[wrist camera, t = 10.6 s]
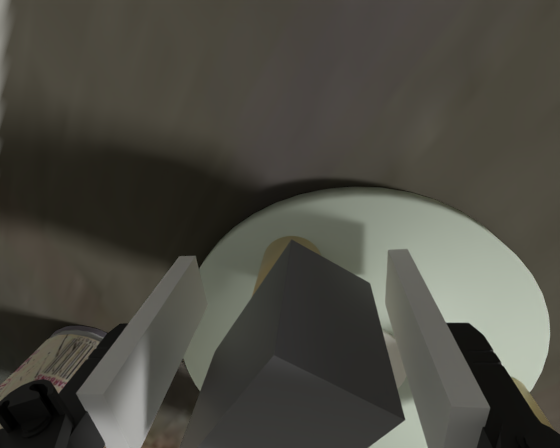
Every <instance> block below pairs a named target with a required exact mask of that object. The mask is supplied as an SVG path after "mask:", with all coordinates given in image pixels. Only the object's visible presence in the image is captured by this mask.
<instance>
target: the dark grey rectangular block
mask: <svg viewBox="0 0 560 448" xmlns="http://www.w3.org/2000/svg"><path fill="white" fill-rule="evenodd" d="M403 421H405V417H404V413H403V409H402V405H401V401H400V397H399V393H398V389H397V385H396V382H395V378H394V374H393V370H392V366H391V362H390V358H389V354H388V350H387V347H386V343H385V339H384V335H383V331H382V327H381V323H380V319H379V315H378V312H377V308H376V304H375V300H374V296H373V292H372V288H371V284H370V283H369V282H367V281H366V280H364V279H362V278H360V277H358V276H357V275H355V274H353V273H351V272H349V271H348V270H346V269H344V268H342V267H340V266H339V265H337V264H335V263H333V262H331V261H330V260H328V259H326V258H324V257H322V256H321V254H320V252H319V250H318V248H317V247H316V246H315V245H314V244H313V243H312V242H310V241H309V240H307V239H305V238H302V237H298V236H285V237H281V238H279V239H277V240H275V241H273V242H272V243H271V244H270V245H269V246H268V247H267V249H266V251H265V253H264V256H263V260H262V263H261V267H260V270H259V273H258V277H257V280H256V284H255V287H254V291H253V294H252V298H251V299H250V301H249V302H248V304H247V305H246V306H245V308H244V309H243V311H242V312H241V314H240V315H239V317H238V318H237V320H236V321H235V322H234V324H233V325H232V327H231V328H230V330H229V331H228V333H227V334H226V336H225V337H224V339H223V340H222V341H221V343H220V344H219V346H218V347H217V349H216V350H215V352H214V355H213V358H212V360H211V363H210V366H209V369H208V371H207V374H206V377H205V380H204V382H203V385H202V388H201V390H200V393H199V396H198V399H197V401H196V404H195V407H194V410H193V412H192V415H191V418H190V420H189V423H188V426H187V429H186V431H185V434H184V437H183V440H182V442H181V445H180V448H368V447H370V446H371V445H372V444H374V443H375V442H377V441H378V440H379V439H381V438H382V437H383V436H385V435H386V434H387V433H389V432H390V431H391V430H393V429H394V428H395V427H397V426H398V425H399V424H401V423H402V422H403Z"/></svg>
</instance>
